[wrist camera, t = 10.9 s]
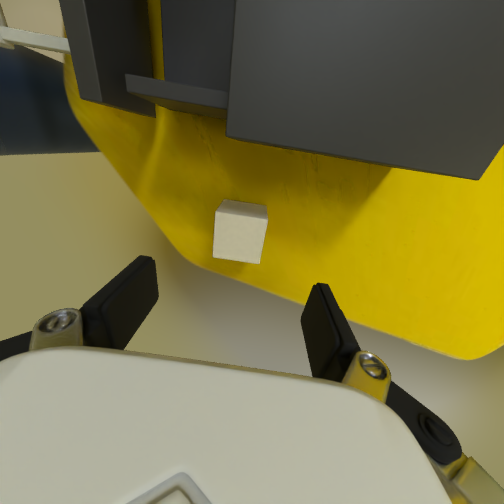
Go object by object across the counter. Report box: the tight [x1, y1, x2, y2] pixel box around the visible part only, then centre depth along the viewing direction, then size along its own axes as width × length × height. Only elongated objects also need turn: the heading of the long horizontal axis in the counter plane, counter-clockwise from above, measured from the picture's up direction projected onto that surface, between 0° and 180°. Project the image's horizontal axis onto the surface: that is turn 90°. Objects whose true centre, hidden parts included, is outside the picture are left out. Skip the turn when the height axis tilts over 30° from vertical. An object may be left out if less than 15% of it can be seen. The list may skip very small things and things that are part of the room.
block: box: [213, 199, 268, 264], centre depth 19 cm, size 4×4×4 cm
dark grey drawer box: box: [225, 0, 504, 180], centre depth 11 cm, size 15×13×8 cm
